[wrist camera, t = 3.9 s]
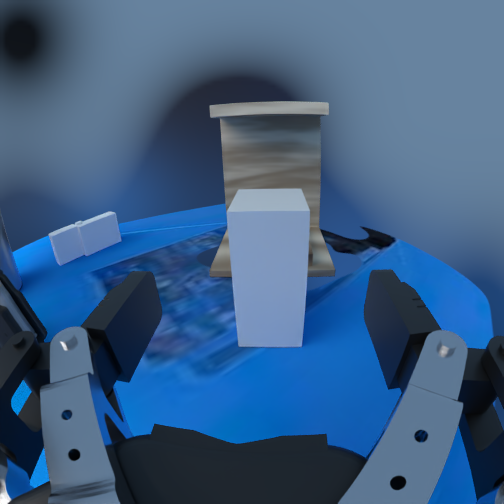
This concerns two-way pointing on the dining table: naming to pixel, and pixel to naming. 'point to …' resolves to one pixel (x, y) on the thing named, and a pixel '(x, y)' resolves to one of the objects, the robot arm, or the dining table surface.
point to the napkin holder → (85, 237)
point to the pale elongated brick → (269, 265)
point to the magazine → (16, 313)
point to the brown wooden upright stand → (273, 164)
